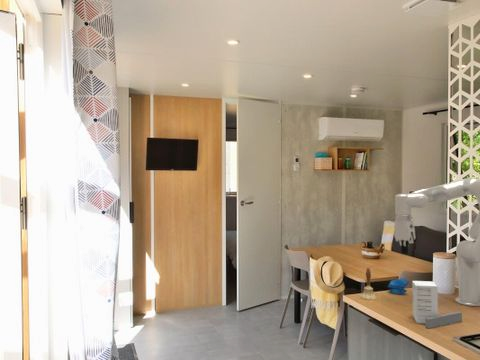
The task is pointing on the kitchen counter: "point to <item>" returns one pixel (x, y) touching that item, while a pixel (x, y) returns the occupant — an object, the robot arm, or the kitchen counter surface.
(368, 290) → the hand bell
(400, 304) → the kitchen counter surface
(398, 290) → the crystal
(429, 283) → the supplement box
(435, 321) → the gray rectangular bar
